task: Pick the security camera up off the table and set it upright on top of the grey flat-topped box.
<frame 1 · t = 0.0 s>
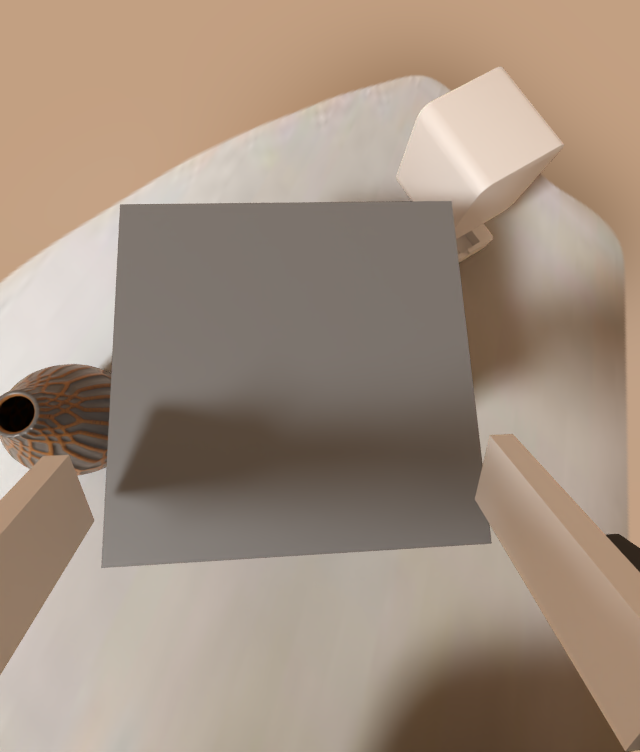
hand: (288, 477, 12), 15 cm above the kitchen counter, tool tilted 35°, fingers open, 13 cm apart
grey flat-topped box: (298, 400, 28), on the kitchen counter
vase: (108, 422, 27), on the kitchen counter
security camera: (435, 229, 31), on the kitchen counter
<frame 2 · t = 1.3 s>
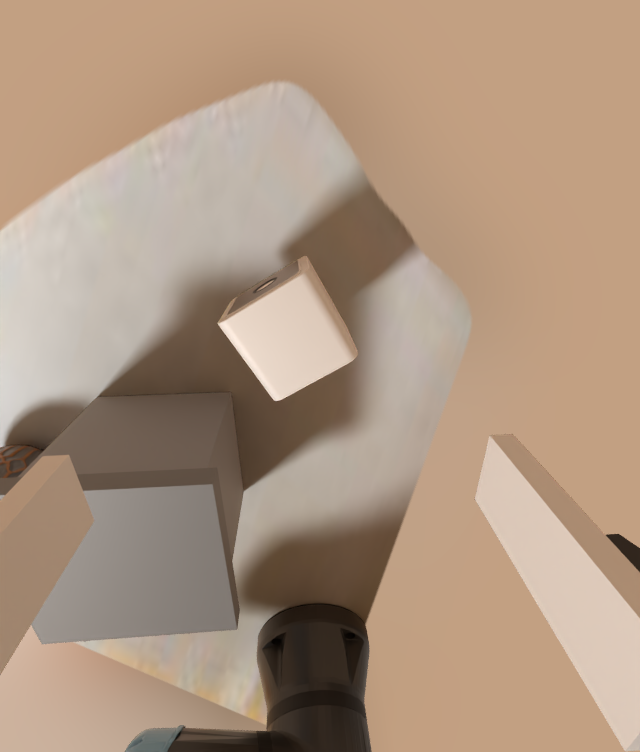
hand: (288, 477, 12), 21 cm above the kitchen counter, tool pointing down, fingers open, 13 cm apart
grey flat-topped box: (176, 448, 36), on the kitchen counter
vase: (33, 461, 36), on the kitchen counter
security camera: (293, 304, 31), on the kitchen counter
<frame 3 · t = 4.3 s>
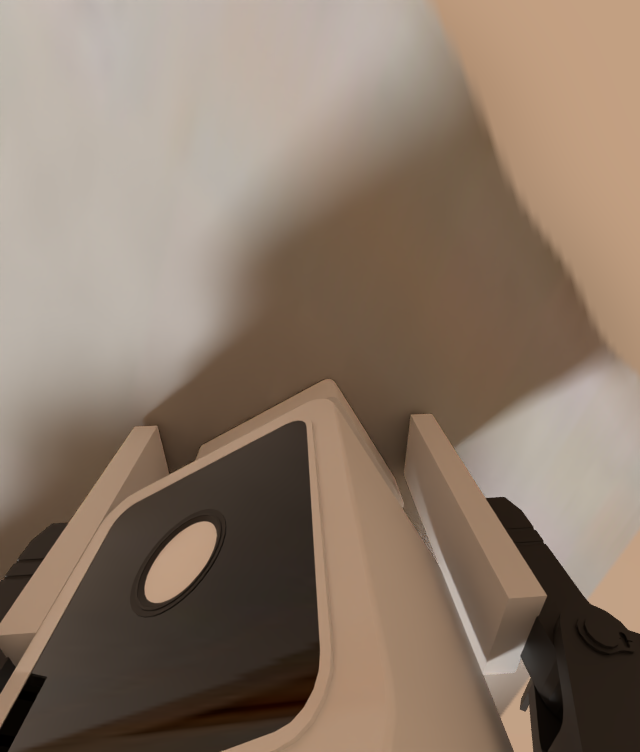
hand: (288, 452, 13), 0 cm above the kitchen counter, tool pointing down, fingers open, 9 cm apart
security camera: (291, 449, 14), on the kitchen counter, touching gripper
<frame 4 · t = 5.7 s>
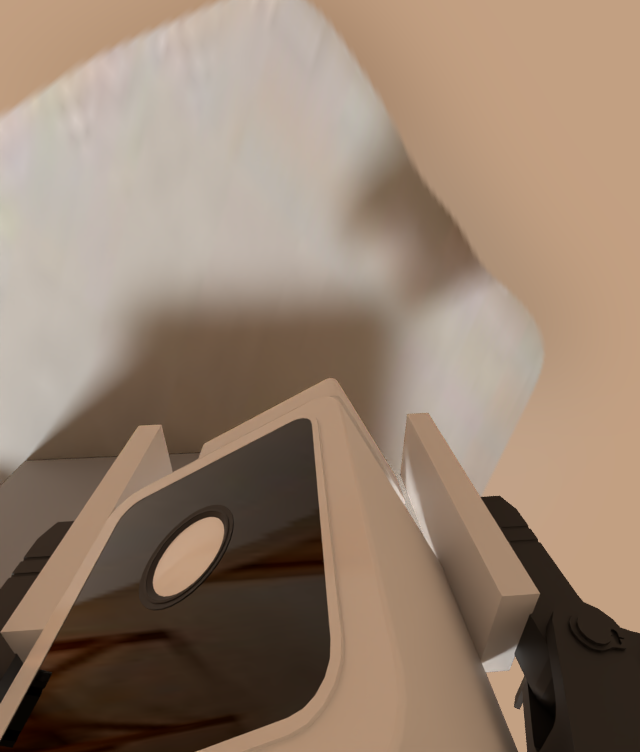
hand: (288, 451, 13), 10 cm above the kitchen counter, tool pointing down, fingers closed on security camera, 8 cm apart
grey flat-topped box: (139, 520, 27), on the kitchen counter
security camera: (293, 447, 14), point 9 cm above the kitchen counter, touching gripper
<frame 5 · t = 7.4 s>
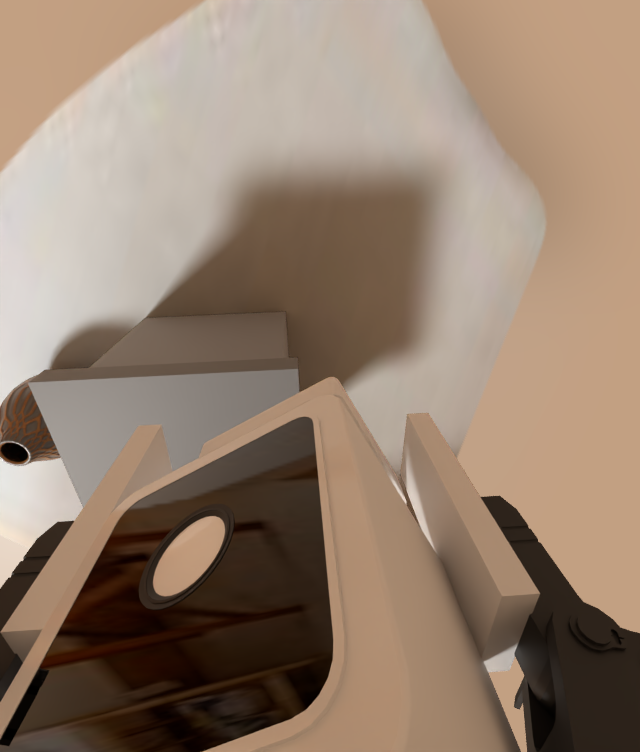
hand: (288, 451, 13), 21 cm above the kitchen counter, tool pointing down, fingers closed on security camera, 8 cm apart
grey flat-topped box: (226, 376, 35), on the kitchen counter
vase: (77, 392, 35), on the kitchen counter
security camera: (294, 446, 14), point 20 cm above the kitchen counter, touching gripper
when the fingers open (15 cm above the kitchen counter, at t = 10.1 s): security camera drops 1 cm, resting on grey flat-topped box.
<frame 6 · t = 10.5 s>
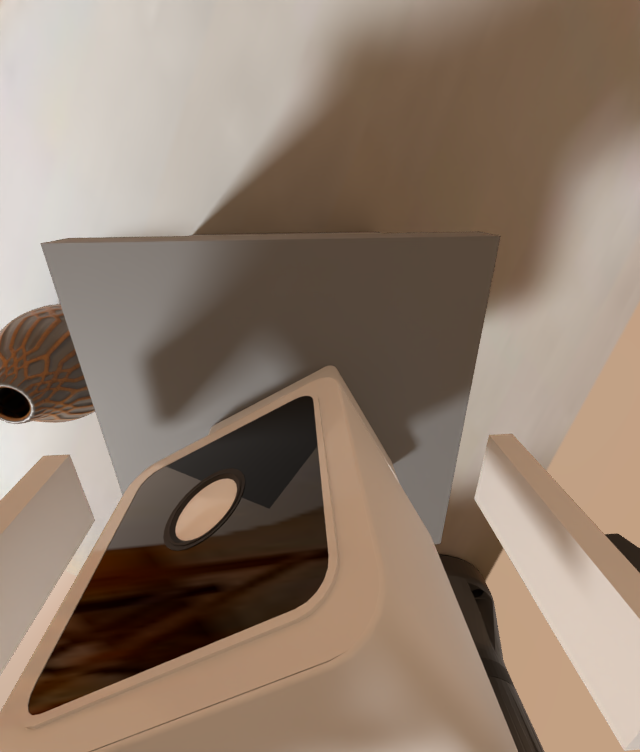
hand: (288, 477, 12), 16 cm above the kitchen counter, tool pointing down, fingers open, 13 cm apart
grey flat-topped box: (290, 322, 26), on the kitchen counter
vase: (95, 340, 26), on the kitchen counter
security camera: (295, 431, 15), point 13 cm above the kitchen counter, touching grey flat-topped box
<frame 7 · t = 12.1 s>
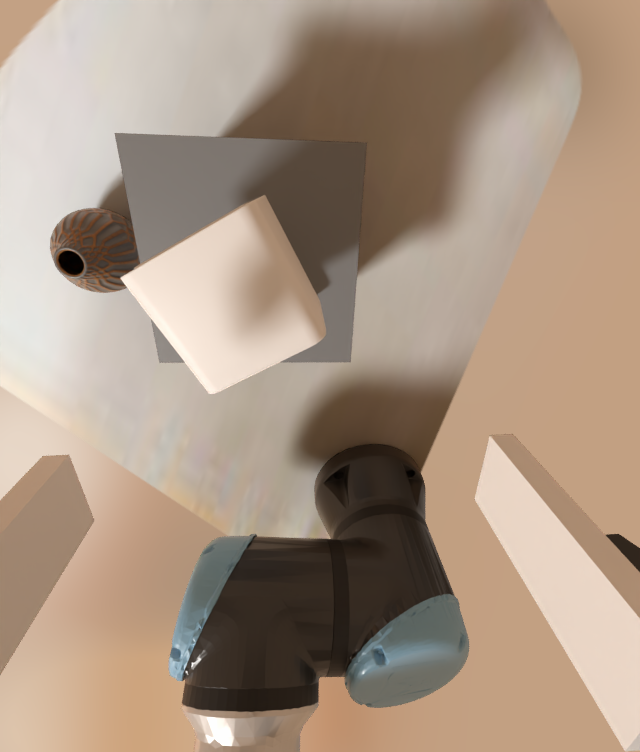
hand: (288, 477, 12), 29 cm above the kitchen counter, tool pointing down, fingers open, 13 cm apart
grey flat-topped box: (265, 237, 36), on the kitchen counter
vase: (120, 244, 36), on the kitchen counter
security camera: (255, 268, 24), point 13 cm above the kitchen counter, touching grey flat-topped box
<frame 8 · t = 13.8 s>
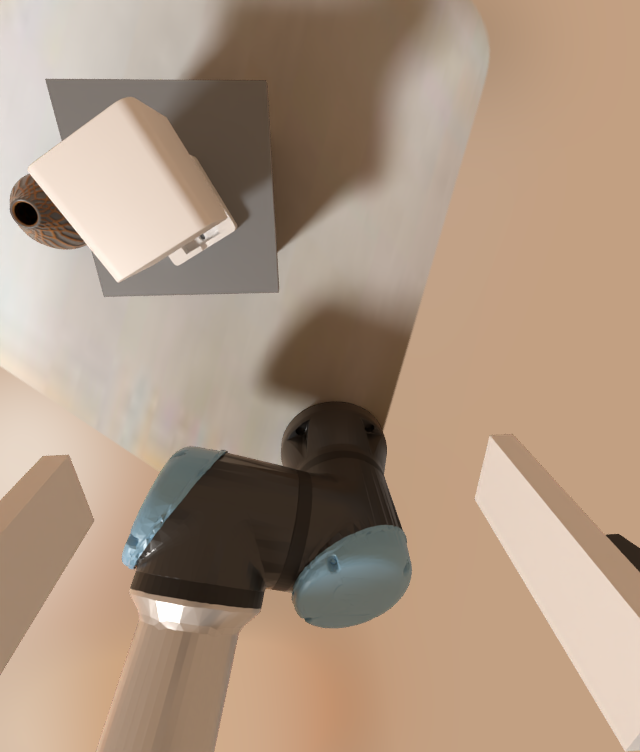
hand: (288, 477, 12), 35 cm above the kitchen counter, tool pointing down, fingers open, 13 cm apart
grey flat-topped box: (212, 198, 39), on the kitchen counter
vase: (80, 209, 39), on the kitchen counter
security camera: (181, 202, 27), point 13 cm above the kitchen counter, touching grey flat-topped box
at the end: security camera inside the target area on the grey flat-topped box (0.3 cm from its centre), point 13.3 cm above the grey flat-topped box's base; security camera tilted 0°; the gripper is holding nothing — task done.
